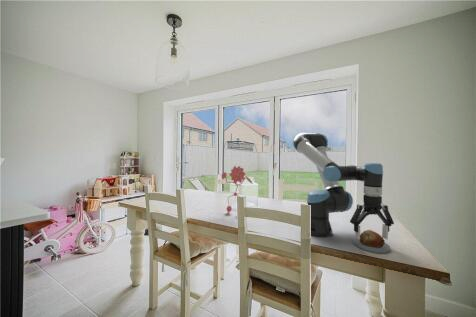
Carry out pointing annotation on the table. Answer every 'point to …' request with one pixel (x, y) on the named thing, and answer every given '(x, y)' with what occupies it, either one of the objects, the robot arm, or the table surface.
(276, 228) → the table surface
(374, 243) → the bread roll
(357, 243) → the plate
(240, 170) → the red flower ornament
